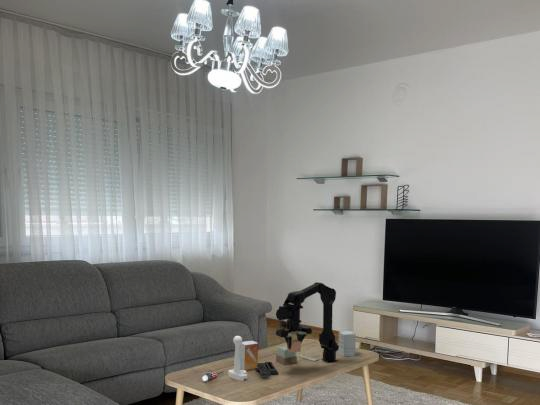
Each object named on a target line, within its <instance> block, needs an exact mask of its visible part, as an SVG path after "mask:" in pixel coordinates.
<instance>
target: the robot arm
mask: <svg viewBox="0 0 540 405" xmlns="http://www.w3.org/2000/svg"><path fill="white" fill-rule="evenodd" d="M316 294H319V297H320V300H321V302H322V305H323V306H322V314H323V315H322V322H323V323H322V331H321V333H319V334H318V342H319V344H320V345H319V346H320V348H321V349H323V351H322V358H321V361H324V362H325V363H329V364H330V363H335V362H338V360H337V352H338V351H339V343H337V342H336V336H335V334H334V332H333V304H334V303H335V301H336V297H337V291H336V289H334V288H332V287H329V286H327V285H325V284H324V283H322V282H316V281H315V282H314V283H313V284H311V285H309V286H307V287H305V288H303V289H301V290H298V291H297V290H296V291H291V292H289V293H288V294H287V296H286V298H285V300H284V302H283V304H282V306H281V305H279V307H278V308H277V310H276V312H275V317H276V319H277V321H279V323H278V324H279V325H278V326H279V328H280V329H276V331H275V335H276V336H278V337H279V338H284V340H285V342H286V346H288V349H290V348H291V341H292V340H293V336H291V335H293V334H296V340H299V341H301V344H302V343H303V341H304V339H305V338H306V337H307V336H308V335H311V334H313V330H312V328H311V327H309V326H306V325H303V326H301V325H300V324H301V323H302V320H301V309H304V306H303V305H302V304H303V303H305V300H306V299H308V298H309V297H311V296H313V295H316ZM284 320H286V321H284Z"/></svg>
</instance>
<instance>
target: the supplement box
mask: <svg viewBox="0 0 540 405" xmlns="http://www.w3.org/2000/svg"><path fill="white" fill-rule="evenodd" d="M338 346H339V349H338V350H337V352H338V354H339V355H340V354H341V355H340V356H342V357H343V356H344V357H343V358H346V356H347V357H355V356H356V333H355V332H353V331H351V330H345V331H343V330H342V331H341V330H340V331H338Z"/></svg>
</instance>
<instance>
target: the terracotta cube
mask: <svg viewBox="0 0 540 405" xmlns="http://www.w3.org/2000/svg"><path fill="white" fill-rule="evenodd" d="M286 346H287V345H286ZM301 346H302V343H301V341H299V340H297V338H295V339H294V338H292V341H291V348H290V349H288V346H287V350H288V351H290V352H292V353H293V352H296V353H297V352H301V351H302V350H301Z"/></svg>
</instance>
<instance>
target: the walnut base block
mask: <svg viewBox="0 0 540 405" xmlns="http://www.w3.org/2000/svg"><path fill="white" fill-rule="evenodd" d="M275 362H276V363H279V364H280V365H282V366H290V365H295V364H297V362H298V358H297V355H296V357H289V358H283V357H281V356H279V355H278V353H276V354H275Z"/></svg>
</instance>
